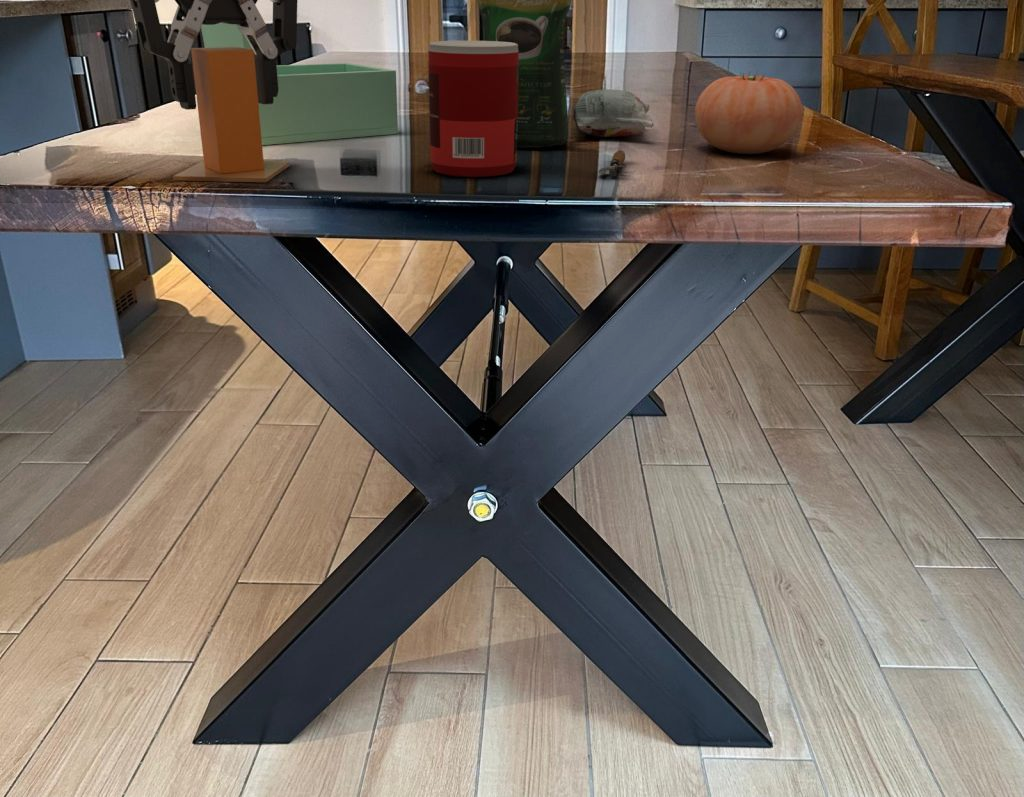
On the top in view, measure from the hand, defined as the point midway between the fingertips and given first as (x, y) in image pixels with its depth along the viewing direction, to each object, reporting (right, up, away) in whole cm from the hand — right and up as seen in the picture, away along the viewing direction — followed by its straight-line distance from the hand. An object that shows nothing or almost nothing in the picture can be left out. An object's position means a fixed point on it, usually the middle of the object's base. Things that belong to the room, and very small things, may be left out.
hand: (227, 105), depth 83 cm
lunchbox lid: (-5, +17, +14) cm, 23 cm away
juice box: (0, -5, +2) cm, 5 cm away
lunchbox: (+2, +5, +25) cm, 26 cm away
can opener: (+34, -4, +6) cm, 35 cm away
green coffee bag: (+26, +2, +20) cm, 33 cm away
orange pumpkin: (+49, 0, +17) cm, 52 cm away
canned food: (+21, -5, +5) cm, 22 cm away
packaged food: (+36, +5, +27) cm, 45 cm away
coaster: (0, -5, +2) cm, 6 cm away
